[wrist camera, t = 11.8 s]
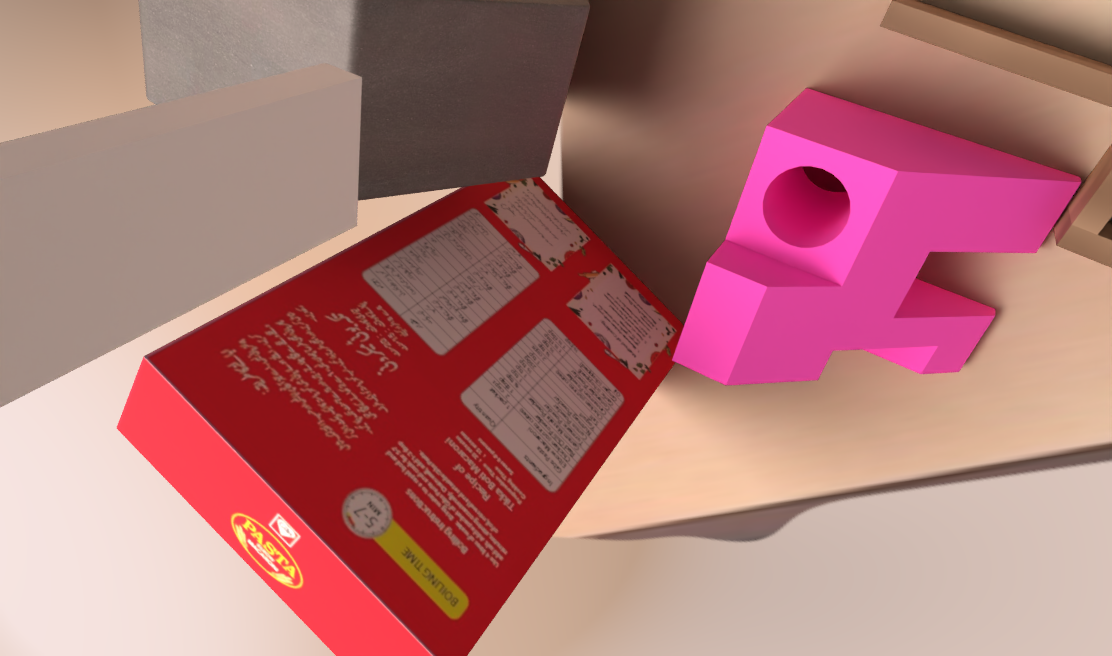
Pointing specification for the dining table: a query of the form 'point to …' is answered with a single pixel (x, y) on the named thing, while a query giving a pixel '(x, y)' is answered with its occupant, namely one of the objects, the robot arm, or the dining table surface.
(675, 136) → the dining table surface
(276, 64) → the planter
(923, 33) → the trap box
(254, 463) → the food packaging
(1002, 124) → the dining table surface
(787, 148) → the bracket
